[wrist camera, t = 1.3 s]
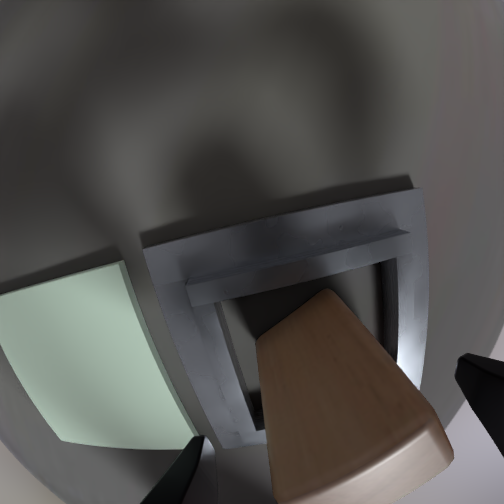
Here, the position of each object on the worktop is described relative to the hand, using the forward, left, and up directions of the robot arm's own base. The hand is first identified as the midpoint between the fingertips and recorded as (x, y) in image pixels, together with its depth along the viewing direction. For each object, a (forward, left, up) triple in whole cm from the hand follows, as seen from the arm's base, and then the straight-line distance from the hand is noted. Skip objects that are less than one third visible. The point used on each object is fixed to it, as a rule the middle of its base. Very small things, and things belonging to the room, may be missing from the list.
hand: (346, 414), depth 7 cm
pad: (0, +12, -5) cm, 13 cm away
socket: (0, 0, -5) cm, 5 cm away
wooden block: (0, 0, -5) cm, 5 cm away
